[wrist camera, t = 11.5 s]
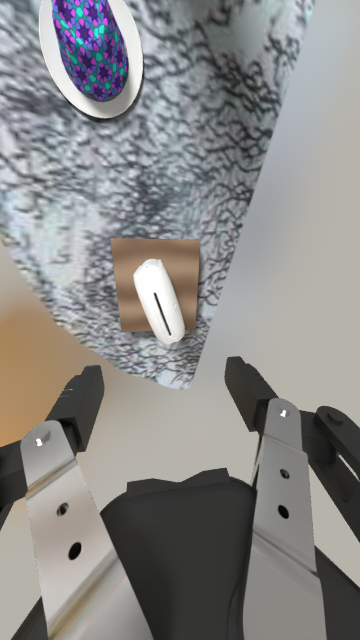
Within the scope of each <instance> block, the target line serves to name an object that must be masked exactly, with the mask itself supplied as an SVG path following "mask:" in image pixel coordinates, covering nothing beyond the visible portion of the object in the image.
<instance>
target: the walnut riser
mask: <svg viewBox="0 0 360 640" xmlns="http://www.w3.org/2000/svg"><path fill="white" fill-rule="evenodd" d="M110 241H111V249H112V257H113V265H114V273H115V281H116V290H117V298H118V306H119V314H120V322H121V331H122V332H140V331H153V330H152V328H151V326H150V323H149V321H148V319H147V317H146V314H145V312H144V309H143V307H142V304H141V302H140V299H139V296H138V293H137V290H136V287H135V283H134V276H133V275H134V273H135V272H136V270H137V269H138V267H139V266H142V264H143V263H144V262H145V261H146V260H148V259H157V260H161V261H162V263H163V265H164V267H165V269H166V271H167V274H168V276H169V278H170V281H171V283H172V286H173V289H174V292H175V295H176V298H177V301H178V304H179V307H180V311H181V314H182V317H183V322H184V326H185V330H186V329H195V327H196V310H197V292H198V274H199V257H200V240H178V239H130V238H110Z"/></svg>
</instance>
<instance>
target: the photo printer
mask: <svg viewBox="0 0 360 640" xmlns="http://www.w3.org/2000/svg"><path fill="white" fill-rule="evenodd" d="M133 276H134V283H135V287H136V290H137V293H138V296H139V299H140V302H141V304H142V307H143V309H144V312H145V314H146V317H147V319H148V321H149V323H150V326H151V328H152V330H153V332H154V334H155V335H156V337H157V338H158V339H159V341H160V342H161V343H163V344H171V343H173V342H178V341H179V340H181V339H182V338H183V336H184V334H185V326H184V322H183V317H182V314H181V311H180V307H179V304H178V301H177V298H176V295H175V292H174V289H173V286H172V283H171V281H170V278H169V276H168V274H167V271H166V269H165V267H164V265H163V263H162V261H161V260H157V259H148V260H146V261H145V262H144V263H143V264H142V266H139V267H138V269H137V270H136V272H135V273H134V275H133Z"/></svg>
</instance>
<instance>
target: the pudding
mask: <svg viewBox="0 0 360 640" xmlns="http://www.w3.org/2000/svg"><path fill="white" fill-rule="evenodd" d="M120 31H121V32H120ZM121 33H122V35H123V38H124V40H125V43H126V47H127V51H128V57H129V72H128V78H127V82H126V84H125V87H124V89H123V90H122V88H123V79H122V78H123V77H124V76H125V75H126V74H127V71H128V59H127V56H126V53H125V51H124V48H123V42H124V41H123V38H122V35H121ZM39 36H40V42H41V48H42V52H43V55H44V59H45V62H46V65H47V67H48V69H49V72H50V74H51V76H52V78H53V80H54V81H55V83H56V85H57V86H58V88H59V89H60V91H61V92H62V93H63V95H64V96H65V97H66V98H67V99H68V100H69V101H70V102H71V103H72V104H73V105H74V106H76V107H77V108H78V109H79V110H81V111H83V112H84V113H86V114H88V115H91V116H94V117H98V118H112V117H115V116H117V115H120V114H121V113H123V112H124V111H126V110H127V108H128V107H129V106H130V105H131V104H132V102H133V101H134V99H135V98H136V96H137V93H138V91H139V88H140V84H141V80H142V71H143V55H142V47H141V41H140V38H139V34H138V30H137V27H136V25H135V22H134V19H133V17H132V15H131V13H130V11H129V9H128V7H127V6H126V4H125V3H124V1H123V0H42V4H41V8H40V15H39ZM59 50H60V51H59ZM60 54H61V56H60ZM61 59H62V60H61ZM63 65H64V66H63ZM64 67H65V68H64ZM65 69H66V71H68V72H69V73H70V74H71V75H72V76H73V80H74V84H75V86H76V87H77V88H78V89H77V88H76V87H75V86H74V84H73V83H72V81H71V80H70V78H69V77H68V75H67V73H66V71H65ZM121 90H122V92H121ZM80 91H81V92H82V93H84V94H92V95H93V97H94V98H95V99H96V100H98V101H105V100H107V99H108V97H109V95H110V94H111V95H117V94H119V93H120V92H121V93H120V94H119V95H118V96H117V97H116V98H115V99H113V100H111V101H108V102H98V101H94V100H92V99H90V98H88V97H86V96H85V95H83V94H82V93H81V92H80Z"/></svg>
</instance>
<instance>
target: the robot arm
mask: <svg viewBox="0 0 360 640" xmlns="http://www.w3.org/2000/svg"><path fill="white" fill-rule="evenodd" d="M225 383H226V386H227V388H228V390H229V392H230V394H231V396H232V398H233V400H234V402H235V404H236V406H237V408H238V410H239V412H240V414H241V416H242V418H243V420H244V422H245V424H246V426H247V428H248V430H249V432H253V431H257V432H258V434H259V439H258V445H257V450H256V456H255V462H254V468H253V473H252V478H251V482H250V485H249V484H247V483H245V482H244V481H242V480H239V479H237V478H234V477H230V476H229V474H228V471H227V468H221V469H213V470H208V471H202V472H200V473H198V474H196V475H194V476H193V477H190V478H188V479H186V480H184V481H182V482H171V481H165V480H159V479H154V478H153V479H145V480H139V481H132V482H127V491H126V492H125V493H123V494H121V495H119V496H118V497H116V498H115V499H114V500H112V501H111V502H110V503H109V504H108V505H107V506H106V507H105V508H104V509H103V510H102V511H101V512H100V513H99V511H98V509H97V506H96V504H95V502H94V500H93V497H92V495H91V492H90V490H89V488H88V486H87V483H86V481H85V478H84V476H83V474H82V471H81V469H80V467H79V464H78V462H77V460H76V458H75V456H76V454H77V452H84V451H86V448H87V445H88V442H89V439H90V435H91V433H92V429H93V426H94V423H95V420H96V417H97V414H98V411H99V408H100V405H101V402H102V398H103V395H104V382H103V376H102V372H101V367H100V365H93V366H86V367H85V368H84V370H83V372H82V374H81V375H76V376H75V377H73V378H72V379H71V380H70V381H69V382H68V383H67V385H66V387H65V388H64V391H62V393H61V395H60V397H59V398H58V400H57V401H56V403H55V405H54V406H53V408H52V410H51V412H50V413H49V415H48V416H47V418H46V419H45V421H44V422H42V423H40V424H38V425H37V426H35V427H33V428H32V429H31V430H30V431H29V432H27V433H26V435H25V436H24V437H23V439H22V440H19V441H16V442H14V443H11V444H8V445H5V446H3V447H0V530H1V528H2V526H3V524H4V522H5V520H6V518H7V516H8V514H9V512H10V510H11V508H12V505H13V503H14V501H16V500H19V499H21V498H23V497H25V498H26V505H27V511H28V516H29V522H30V529H31V534H32V540H33V546H34V552H35V558H36V564H37V570H38V576H39V582H40V588H41V594H42V596H41V597H40V598H39V600H38V601H37V603H36V604H35V606H34V607H33V609H32V610H31V611H30V613H29V614H28V616H27V617H26V619H25V620H24V621H23V623H22V624H21V626H20V627H19V629H18V630H17V632H16V633H15V634H14V636H13V637H12V639H11V640H360V588H359V587H358V586H357V585H356V584H355V583H354V582H353V581H352V580H351V579H350V578H349V577H348V576H347V575H346V574H345V573H344V572H342V570H341V569H339V568H338V567H337V566H336V565H335V564H334V563H333V562H332V561H330V559H329V558H328V557H327V556H326V555H325V554H324V553H322V552H321V551H320V550H319V549H318V548H317V547H316V546H315V545H314V536H313V522H312V508H311V495H310V482H309V468H308V463H309V465H310V466H311V468H312V469H313V471H314V472H315V474H316V476H317V477H318V479H319V480H320V482H321V483H322V485H323V486H324V488H325V489H326V491H327V492H328V494H329V496H330V497H331V499H332V500H333V502H334V503H335V505H336V506H337V508H338V510H339V511H340V513H341V514H342V515H343V517H344V519H345V521H346V522H347V524H348V525H349V527H350V528H351V530H352V531H353V533H354V534H355V536H356V538H357V539H358V541H359V542H360V482H359V481H360V428H359V427H358V426H357V425H356V424H355V423H354V422H353V421H352V420H351V419H350V418H349V417H348V416H347V415H345V414H344V413H342V412H341V411H339V410H337V409H335V408H332V407H329V406H321V407H319V408H318V409H317V411H316V413H313V412H306V411H301V410H298V409H297V407H296V406H295V405H293V404H292V403H291V402H289V401H287V400H285V399H281V398H279V397H278V396H277V395H276V393H275V392H274V391H273V390H272V388H271V387H270V386H269V385H268V383H267V382H266V381H265V380H264V378H263V377H262V376H261V375H260V373H259V372H258V371H257V370H256V369H255V368H254V367H253V366H251V365H250V364H246V363H245V362H244V361H243V360H242V358H241V357H240V356H236V357H228V358H227V363H226V369H225ZM339 455H341V456H342V457H343V458H344V460H345V461H346V462H347V463H348V464H349V465H350V467H351V468H352V469H353V471H354V472H355V473H356V475H357V476H358V479H359V481H358V480H357V479H356V477H355V476H354V475H353V474H352V472H351V471H350V470H349V468H348V467H347V466H346V465H345V463H344V462H343V461H342V460H341V458H339Z"/></svg>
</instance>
